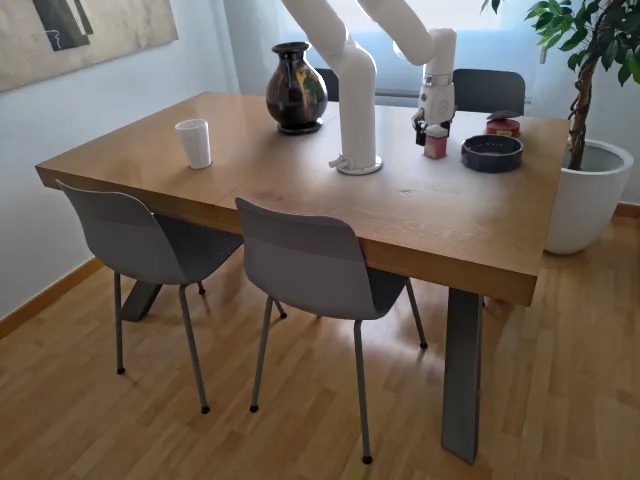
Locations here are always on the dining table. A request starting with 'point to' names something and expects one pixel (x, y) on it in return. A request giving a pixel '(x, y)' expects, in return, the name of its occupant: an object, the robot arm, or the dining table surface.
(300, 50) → the amphora vase
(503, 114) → the canned food
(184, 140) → the foam cup
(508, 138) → the ring
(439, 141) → the small box
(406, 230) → the dining table surface
